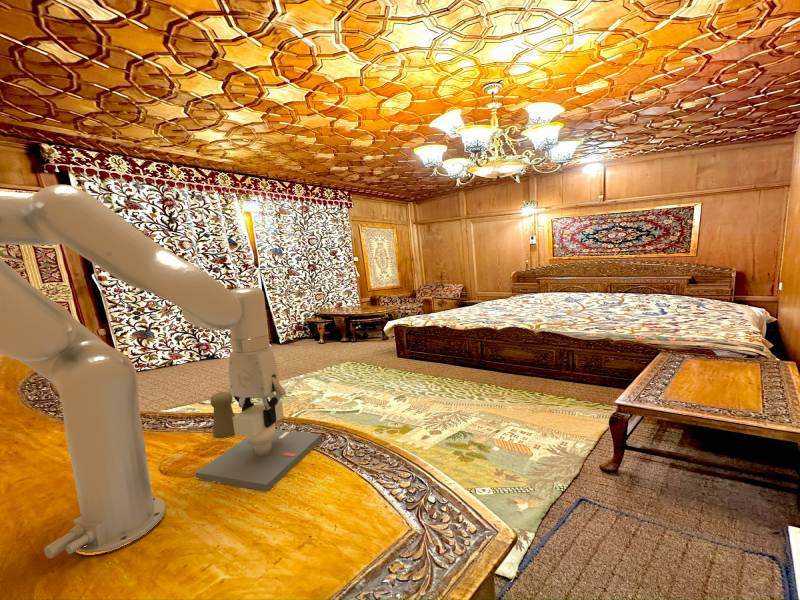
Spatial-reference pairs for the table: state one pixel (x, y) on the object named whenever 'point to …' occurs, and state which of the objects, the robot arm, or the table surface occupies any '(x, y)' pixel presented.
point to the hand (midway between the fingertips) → (260, 422)
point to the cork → (222, 415)
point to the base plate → (260, 460)
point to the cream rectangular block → (256, 423)
